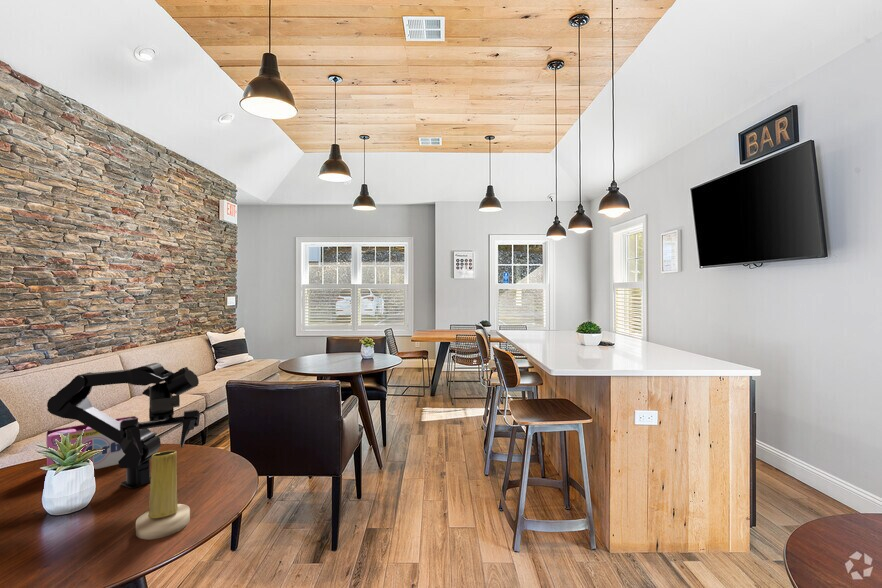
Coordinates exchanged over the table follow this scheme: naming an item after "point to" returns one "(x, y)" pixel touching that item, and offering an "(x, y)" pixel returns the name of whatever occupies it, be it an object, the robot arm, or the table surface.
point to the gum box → (97, 442)
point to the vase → (163, 484)
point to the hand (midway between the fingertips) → (162, 450)
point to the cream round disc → (162, 524)
